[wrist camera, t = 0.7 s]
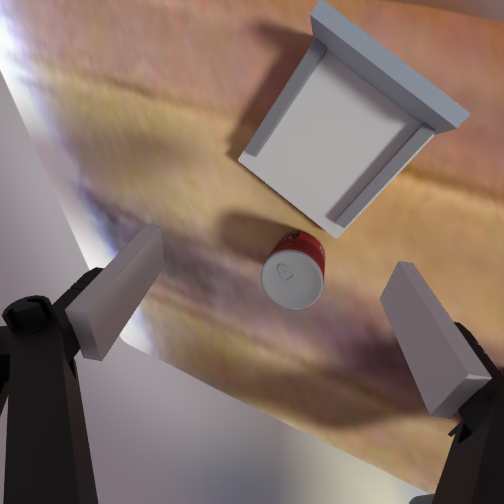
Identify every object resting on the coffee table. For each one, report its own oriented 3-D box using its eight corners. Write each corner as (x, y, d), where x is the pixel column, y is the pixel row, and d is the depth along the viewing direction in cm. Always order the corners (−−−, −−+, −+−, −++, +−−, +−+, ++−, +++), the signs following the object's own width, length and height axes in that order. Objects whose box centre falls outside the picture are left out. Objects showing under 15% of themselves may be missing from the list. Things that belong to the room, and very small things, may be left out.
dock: (436, 126, 33) (470, 113, 25) (336, 234, 41) (337, 251, 32) (323, 38, 34) (320, -3, 26) (243, 160, 41) (221, 159, 33)
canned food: (293, 220, 42) (281, 238, 32) (336, 250, 41) (337, 278, 31) (267, 257, 45) (248, 284, 35) (306, 285, 44) (299, 321, 34)
